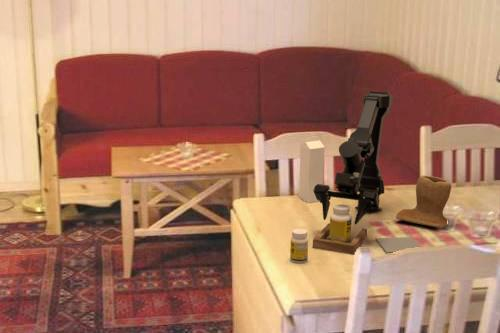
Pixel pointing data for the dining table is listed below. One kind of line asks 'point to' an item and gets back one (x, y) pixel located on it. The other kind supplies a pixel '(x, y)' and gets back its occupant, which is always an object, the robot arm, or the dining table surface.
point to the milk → (311, 168)
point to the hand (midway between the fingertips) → (339, 221)
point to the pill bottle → (340, 224)
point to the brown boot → (428, 202)
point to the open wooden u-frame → (337, 246)
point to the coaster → (396, 243)
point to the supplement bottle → (299, 246)
